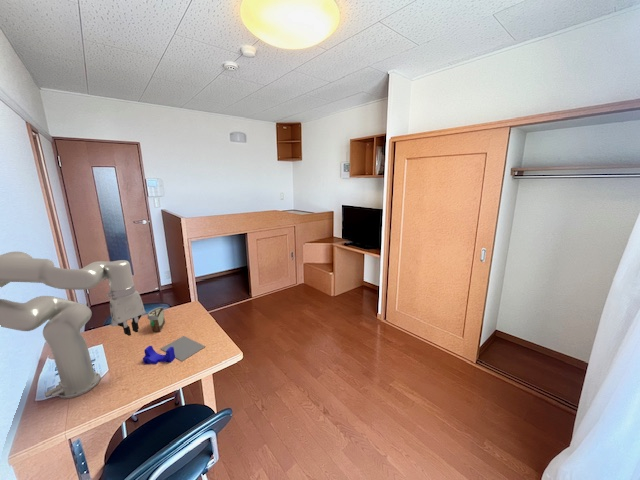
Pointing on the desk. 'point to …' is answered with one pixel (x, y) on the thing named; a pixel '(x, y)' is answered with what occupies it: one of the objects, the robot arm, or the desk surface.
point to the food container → (157, 319)
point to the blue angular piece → (158, 356)
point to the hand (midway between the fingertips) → (132, 332)
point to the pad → (184, 348)
